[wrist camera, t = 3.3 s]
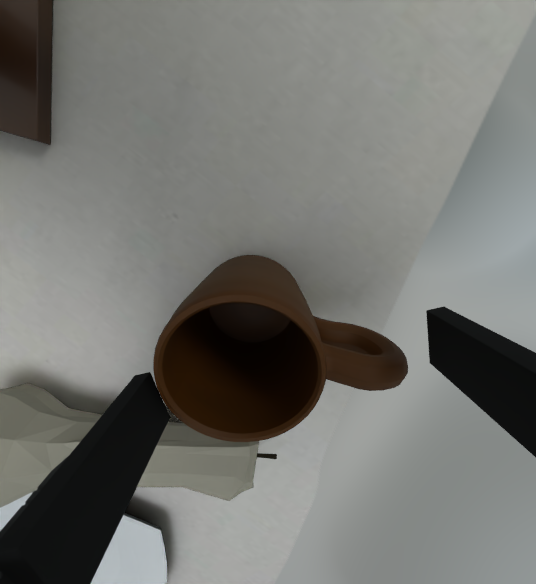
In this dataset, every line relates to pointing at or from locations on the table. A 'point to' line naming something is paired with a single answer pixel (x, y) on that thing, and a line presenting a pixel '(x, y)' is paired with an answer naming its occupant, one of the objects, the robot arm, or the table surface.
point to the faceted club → (76, 424)
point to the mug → (261, 354)
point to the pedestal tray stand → (26, 68)
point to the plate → (122, 550)
